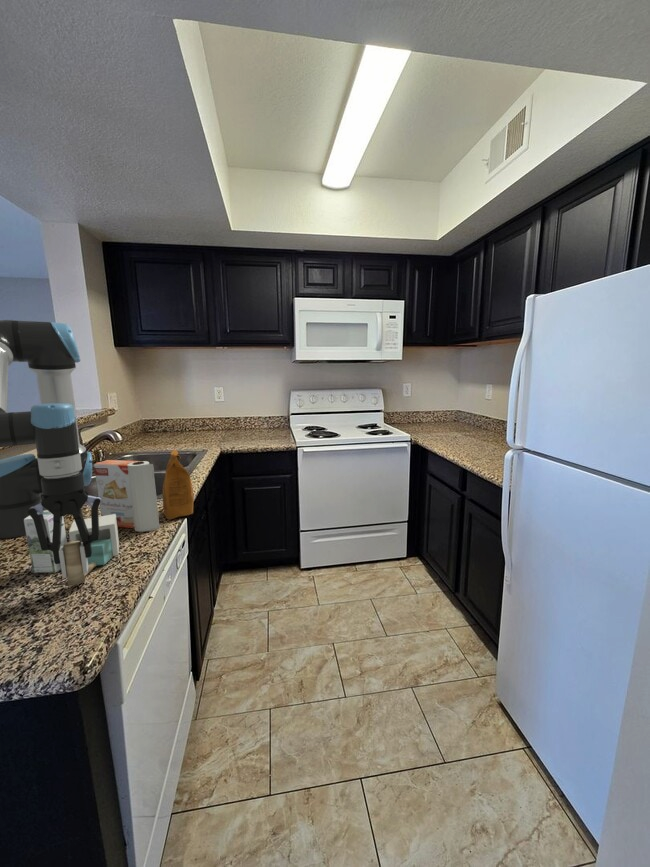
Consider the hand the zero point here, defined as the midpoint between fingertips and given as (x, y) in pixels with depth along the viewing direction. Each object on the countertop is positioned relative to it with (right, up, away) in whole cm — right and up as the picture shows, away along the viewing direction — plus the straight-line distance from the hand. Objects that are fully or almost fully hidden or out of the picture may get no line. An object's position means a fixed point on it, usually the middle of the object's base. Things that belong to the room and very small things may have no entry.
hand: (75, 572), depth 82 cm
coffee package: (+6, +4, +44) cm, 44 cm away
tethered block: (-1, -2, +6) cm, 6 cm away
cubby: (-5, -1, +16) cm, 16 cm away
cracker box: (-8, +2, +35) cm, 35 cm away
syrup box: (-12, -2, +9) cm, 15 cm away
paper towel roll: (+1, +2, +31) cm, 31 cm away
